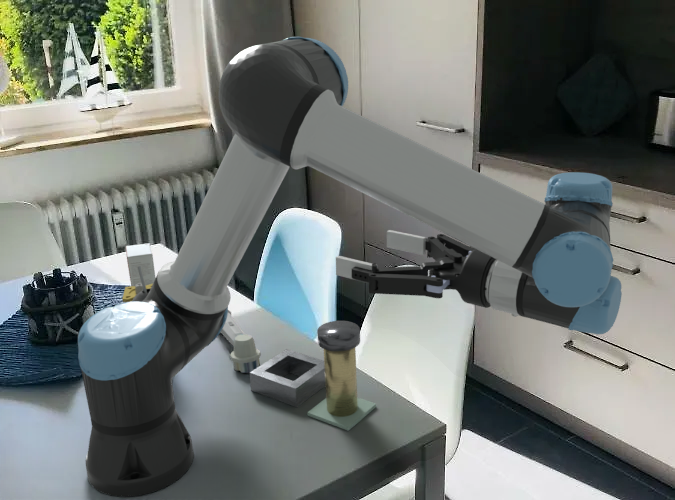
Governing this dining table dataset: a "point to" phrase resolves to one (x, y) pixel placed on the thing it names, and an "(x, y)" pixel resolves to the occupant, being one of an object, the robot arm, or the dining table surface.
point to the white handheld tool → (241, 346)
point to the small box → (140, 263)
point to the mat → (342, 422)
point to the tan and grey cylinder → (340, 365)
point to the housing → (290, 392)
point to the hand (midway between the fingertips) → (363, 251)
